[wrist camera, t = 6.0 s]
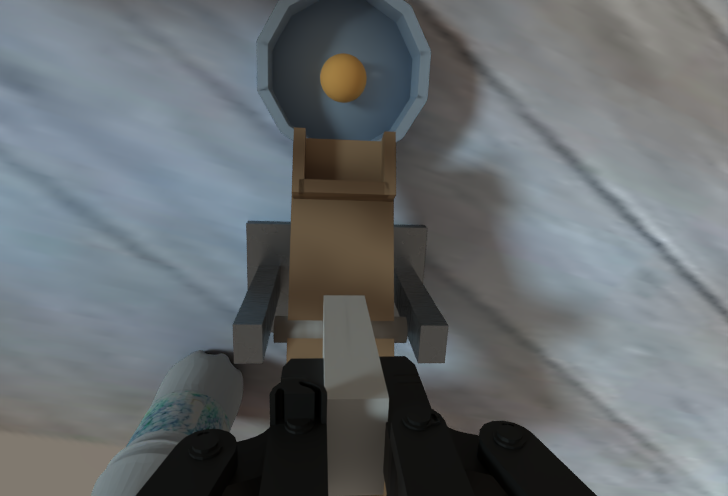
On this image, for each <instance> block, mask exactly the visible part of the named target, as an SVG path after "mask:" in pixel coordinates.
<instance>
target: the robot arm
mask: <svg viewBox="0 0 728 496" xmlns="http://www.w3.org/2000/svg"><path fill="white" fill-rule="evenodd" d="M384 481H385V486H386V492H387V496H597V495H596V494H595V493H594V492H592V491H591V490H590V489H589V488H588V487H587V486H586V485H585V484H584V483H583V482H582V481H581V480H580V479H579V478H578V477H577V476H576V475H575V474H574V473H573V472H572V471H571V470H570V469H569V468H568V467H567V466H566V465H565V464H564V463H563V462H561V461H560V460H559V459H558V458H557V457H556V456H555V455H554V454H553V453H552V452H551V451H550V450H549V449H548V448H547V447H546V446H545V445H544V444H543V443H542V442H541V441H540V440H539V439H538V438H537V437H536V436H535V435H534V434H533V433H531V432H530V431H528V430H527V429H526V428H524V427H522V426H520V425H517V424H515V423H512V422H507V421H492V422H489V423H486V424H484V425H483V427H482V428H481V429H480V433H479V436H478V435H473V434H468V433H463V432H459V431H456V430H453V429H451V428H449V427H447V425H446V422H445V420H444V419H443V418H442V416H441V415H440V414H439V413H437V412H436V411H434V410H433V409H431V406H430V403H429V401H428V398H427V395H426V393H425V390H424V387H423V385H422V382H421V379H420V377H419V374H418V372H417V369H416V366H415V364H414V363H412V362H411V361H410V360H409V359H408V358H407V357H405V356H382V357H379V354H378V350H377V346H376V342H375V337H374V333H373V329H372V325H371V321H370V316H369V312H368V308H367V304H366V300H365V296H357V295H324V306H323V358H293V359H290V360H289V361H288V362H287V363H286V365H285V366H284V367H283V370H282V376H281V383H279V384H278V385H276V386H275V387H274V388H273V389H272V391H271V393H270V428H269V429H267V430H266V431H265V432H264V433H262V434H260V435H258V436H256V437H253V438H250V439H247V440H243V441H239V442H236V439H235V437H234V436H233V435H232V434H231V433H229V432H228V431H224V430H221V429H205V430H201V431H197V432H194V433H192V434H190V435H188V436H186V437H185V438H183V439H182V440H181V441H180V442H179V443H178V444H177V445H176V446H175V447H174V449H173V450H172V451H171V452H170V454H169V455H168V456H167V457H166V458H165V460H164V461H163V462H162V463H161V465H160V466H159V467H158V468H157V470H156V471H155V472H154V473H153V475H152V476H151V477H150V478H149V480H148V481H147V482H146V483H145V484H144V486H143V487H142V488H141V489H140V491H139V492H138V493H137V494H136V496H358V495H383V493H384Z"/></svg>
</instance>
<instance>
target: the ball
mask: <svg viewBox="0 0 728 496" xmlns="http://www.w3.org/2000/svg"><path fill="white" fill-rule="evenodd" d="M366 81H367V76H366V71H365V68H364V66H363V64H362V63H361V62H360V61H359V60H358V59H357V58H356V57H354V56H352V55H350V54H346V53H341V54H336V55H334V56H332V57H330V58H329V59H328V60H327V61H326V62H325V63H324V65H323V67H322V70H321V74H320V82H321V86H322V88H323V90H324V92H325V93H326V95H327V96H328V97H329V98H331V99H332V100H334V101H336V102H341V103H347V102H351V101H353V100H355V99H357V98H358V97H359V96H360V95H361V94H362V92H363V91H364V89H365V86H366Z"/></svg>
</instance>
